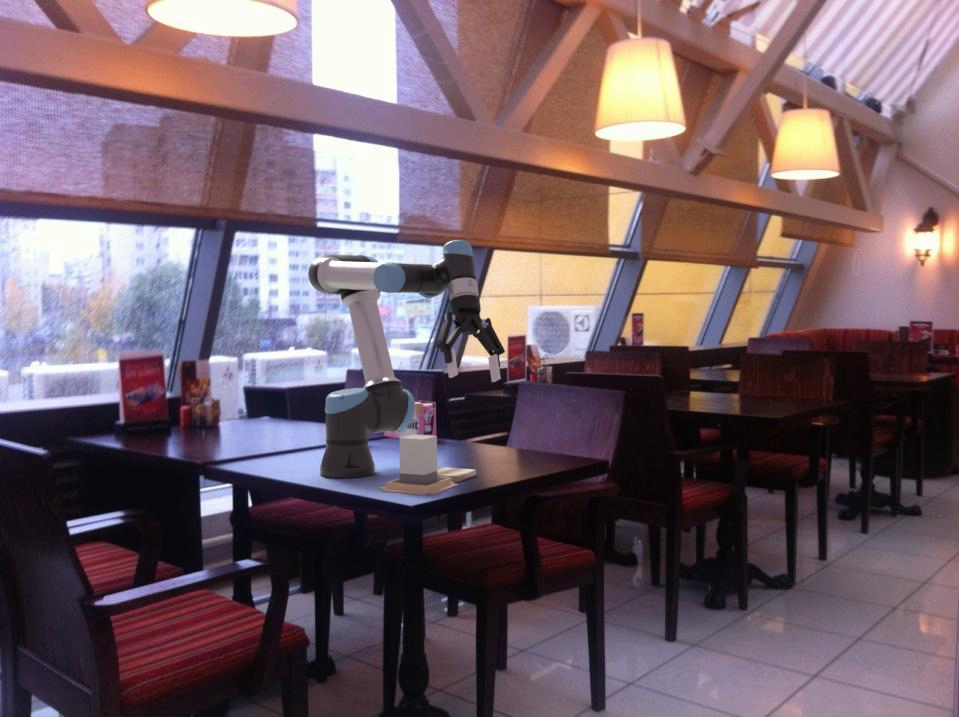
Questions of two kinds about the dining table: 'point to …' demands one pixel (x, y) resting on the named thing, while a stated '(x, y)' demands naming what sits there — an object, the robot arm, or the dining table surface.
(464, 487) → the dining table surface
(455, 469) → the birch board
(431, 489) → the tan square frame
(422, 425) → the gum box
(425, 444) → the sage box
